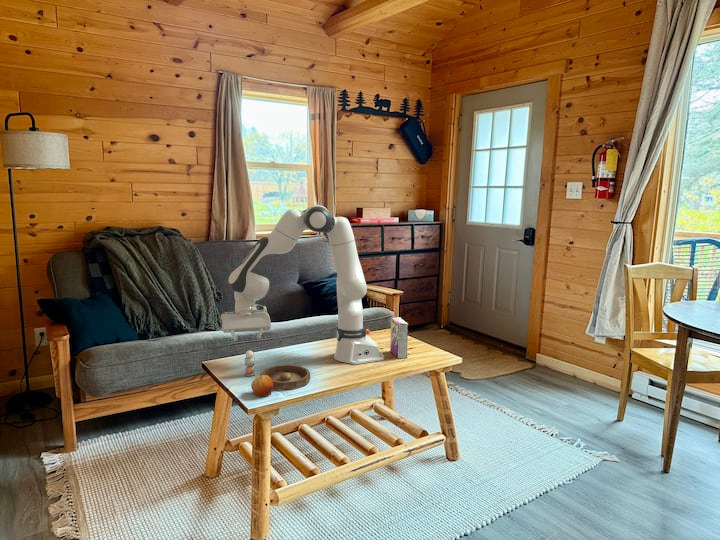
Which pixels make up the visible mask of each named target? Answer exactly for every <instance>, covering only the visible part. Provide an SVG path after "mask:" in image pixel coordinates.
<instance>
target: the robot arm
mask: <svg viewBox="0 0 720 540" xmlns="http://www.w3.org/2000/svg"><path fill="white" fill-rule="evenodd" d="M352 228H353V227H352V225H351V223H350V221H349V219H348V218H346V217H344V216H333V215H332V214H331V212H329V210H328V209H327V208H326V206H324V205H321V204H315V205H311V206H310V207H307V208H306V209H305V210H302V212H301V210H298V209H288V210H286V212H285V213H284V214H283V215H282V216H281V217H280V219H279V220H278V222H277V223H276V224H275V226H274V228H273V229H272V231H271V232H270V233H269V234H268V235H267V236H265V237H264V236H263V237H261V238H260V239H259V240H258V241H257V242H255V244H254V245H253V246H252V248H251V249H250V250H249V252H248V253H247V254H246V256H244V258H243V259H242V261H241V262H240V264H239V265H237V266H236V267H235V268H234V269H233V270H232V271H231V272H230V274H229V276H228V279H227V281H228V282H227V283H228V286H229V288H230V289H231V291H232V292H234V293H233V294H234V300H235V301H234V302H235V304H234V311H225V312H224V313H221V315H220V321H221V322H222V323H221V324H222V325H221V331H222V333H224V334H228V333H229V334H230V335H231V336H232V338H233V341H234V342H238V341H239V340H238V339H239V338H238V337H239V336H238V335H236V334H235V333H246V332H259V333H258V334H256V339H257V341H259V340H262V335H263V333H264V332H265V331H267V332H268V331H270V330H271V328H272V321H271V318H270V315H269V313H268V311H267V307H266V305H261V304H257V303H256V302H257V301H260V300H262V299H264V298H266V296H268V295H269V293H270V291H271V282H270V280H269V278H268V277H265V276H263V275H260V274H257V273H254V272H252V270H253V269H254V267H255V266H256V265H257V264H258V262H259V261H260V260H261V259H262V258H263V257H264V256H268V255H284V254H287V253H289V252H291V251H292V250H293V249H294V247H295V246H296V244H297V242H298V240H299V238H300V237H301V235H302V234H303V233H304V232H305V231H306V230H308V229H309V230H311V231H312V232H314V233H322V234H323V233H324V234H326V235H327V239H328V242H329V247H330V252H331V256H332V263H333V264H334V267H335V273H336V276H337V277H336V279H335V282H336V284H335V285H336V299H337V300H336V301H337V309H338V310H337V312H338V313H337V327H336V349H335V352H334V355H333V359H335V360H336V361H337V362H341V363H345V364H350V365H361V364H366V363H367V364H368V363H373V362H378V361H379V362H380V361H384V360H385V355H384V354H383V352H381V351H380V349H379V345H378V343H377V341H375V340H374V339H373V338H371V337H370V336H369V335H370V333H371V330H370V329H368V328H366V327H364V325H363V324H364V322H363V321H364V320H363V319H364V308H363V303H362V299H363V298H364V297H365V296H366V294H367V292H368V286H367V282H366V280H365V279H366V278H365V276H364V272H363V267H362V265H361V262H360V259H359V254H358V250H357V245H356V239H355V236H354V231H353V229H352Z"/></svg>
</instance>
